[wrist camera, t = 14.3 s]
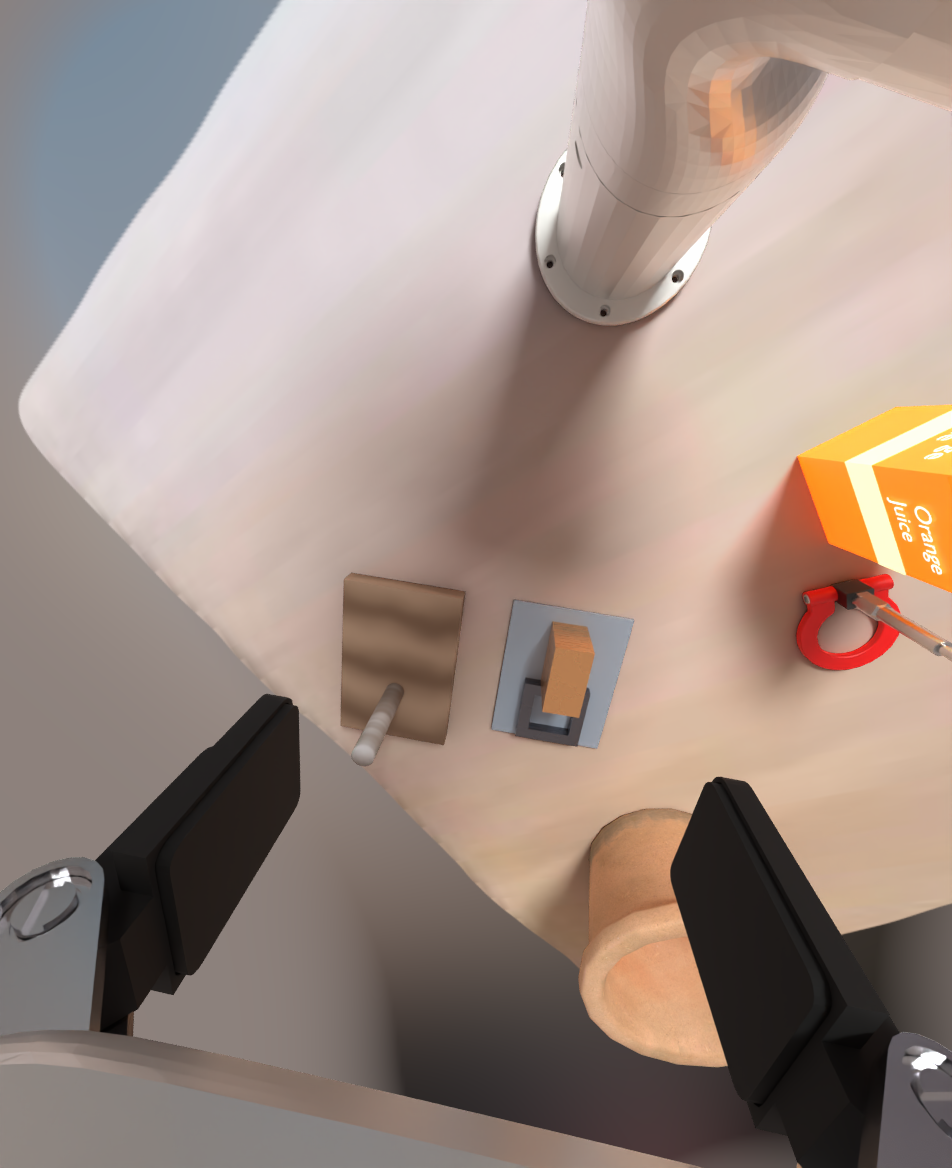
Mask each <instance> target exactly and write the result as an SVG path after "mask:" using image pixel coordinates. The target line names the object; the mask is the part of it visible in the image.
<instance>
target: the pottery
mask: <svg viewBox="0 0 952 1168" xmlns="http://www.w3.org/2000/svg"><path fill="white" fill-rule="evenodd" d="M691 816H692V814H690V813H686V812H682V811H678V810H674V809H644V810H640V811H637V812H633V813H630V814H626V815H623V816H621V817H619V818H618V819H616V820H615V821H613V822H611V823H610V824H608V825H607V826H605V827H604V828H603V829H602V830H601V831H600V833H599V834H598V836H597V837H596V838H595V840H594V841H593V842H592V846H591V851H590V857H589V863H590V879H589V945H588V946H587V947H586V948H585V950H584V951H583V956H582V961H581V966H580V972H579V977H578V978H579V989H580V993H581V996H582V998H583V1001H584V1004H585V1006H586V1009H587V1012H588V1014H589V1016H590V1018H591V1019H592V1020H593V1021H594V1022H595V1023H596V1024H597V1025H598V1026H599V1027H600V1028H601V1029H602V1030H603V1031H604V1032H605V1033H606V1034H607V1035H608V1036H609V1037H610V1038H611V1039H613V1040H615V1041H617V1042H618V1043H620V1044H622V1045H624V1046H626V1047H628V1048H630V1049H632V1050H634V1051H635V1052H637V1053H639V1054H642V1055H645V1056H649V1057H653V1058H656V1059H660V1060H664V1061H667V1062H671V1063H675V1064H682V1065H695V1066H710V1067H721V1066H728V1065H727V1062H726V1059H725V1056H724V1052H723V1049H722V1046H721V1043H720V1039H719V1036H718V1033H717V1030H716V1026H715V1023H714V1020H713V1017H712V1014H711V1010H710V1007H709V1004H708V1001H707V997H706V994H705V991H704V988H703V984H702V981H701V978H700V975H699V972H698V968H697V965H696V962H695V959H694V955H693V952H692V949H691V946H690V942H689V939H688V936H687V933H686V929H685V926H684V923H683V920H682V917H681V913H680V910H679V907H678V904H677V900H676V897H675V894H674V891H673V887H672V884H671V878H670V869H671V864H672V862H673V859H674V857H675V855H676V852H677V850H678V847H679V845H680V843H681V840H682V838H683V835H684V833H685V831H686V828H687V826H688V823H689V821H690V819H691Z"/></svg>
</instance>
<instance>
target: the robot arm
mask: <svg viewBox="0 0 952 1168" xmlns="http://www.w3.org/2000/svg"><path fill="white" fill-rule="evenodd" d="M829 73H830V74H833V75H836V76H839V77H841V78H844V79H847V80H856V79H860V80H862V81H865V82H868V83H871V84H874V85H877V86H880V87H882V88H885V89H888V90H891V91H894V92H897V93H900V94H902V95H905V96H908V97H911V98H914V99H917V100H920V101H922V102H925V103H928V104H931V105H934V106H937V107H940V108H942V109H945V110H948V111H951V112H952V0H587V8H586V17H585V25H584V34H583V41H582V48H581V55H580V63H579V69H578V76H577V83H576V90H575V97H574V104H573V111H572V118H571V126H570V133H569V140H568V147H567V149H566V150H565V152H564V153H563V154H562V155H561V156H560V158H559V159H558V161H557V163H556V164H555V166H554V168H553V169H552V171H551V173H550V175H549V176H548V179H547V182H546V184H545V187H544V189H543V192H542V194H541V198H540V202H539V207H538V211H537V216H536V228H535V246H536V254H537V260H538V265H539V269H540V271H541V274H542V277H543V280H544V282H545V284H546V286H547V288H548V289H549V291H550V293H551V294H552V296H553V297H554V298H555V300H556V301H557V302H558V303H559V304H560V305H561V306H562V307H563V308H564V309H565V310H567V311H568V312H569V313H571V314H572V315H574V316H575V317H577V318H579V319H581V320H584V321H586V322H588V323H592V324H598V325H604V326H609V325H622V324H626V323H630V322H634V321H637V320H639V319H641V318H644V317H646V316H648V315H650V314H652V313H653V312H655V311H656V310H657V309H659V308H660V307H662V306H663V305H665V304H666V303H667V302H668V301H669V300H670V299H671V298H672V297H674V296H675V295H676V294H677V293H678V292H679V290H680V289H681V288H682V287H683V286H684V285H685V284H686V282H687V281H688V280H689V278H690V277H691V275H692V273H693V272H694V270H695V269H696V267H697V265H698V264H699V262H700V259H701V257H702V255H703V253H704V250H705V248H706V246H707V243H708V239H709V235H710V231H711V228H712V225H713V224H714V223H715V222H716V220H717V219H718V218H719V217H720V216H721V215H722V214H723V213H724V212H725V211H726V210H727V209H728V208H729V207H730V205H731V204H732V203H733V202H734V201H735V200H736V199H737V198H738V197H739V196H740V195H741V194H742V193H743V192H744V190H745V189H746V188H747V187H748V186H749V185H750V184H751V183H752V182H753V181H754V180H755V179H756V177H757V176H758V175H759V174H760V173H761V172H762V170H763V169H764V168H765V167H766V166H767V165H768V164H769V163H770V162H771V161H772V160H773V159H774V157H775V156H776V155H777V154H778V153H779V152H780V151H781V150H782V148H783V147H784V146H785V145H786V143H787V142H788V141H789V140H790V138H791V137H792V136H793V134H794V133H795V132H796V130H797V129H798V127H799V126H800V124H801V123H802V122H803V120H804V119H805V117H806V115H807V114H808V112H809V110H810V109H811V107H812V105H813V103H814V102H815V100H816V98H817V96H818V94H819V92H820V90H821V89H822V87H823V85H824V83H825V81H826V78H827V76H828V74H829ZM562 173H564V175H563V177H561V174H562ZM548 262H552V263H553V267H552V268H548V267H547V263H548ZM674 276H675V277H676V278H677V282H676V283H673V281H672V277H674ZM602 310H604V311H606V316H605V317H602V316H601V315H600V312H601V311H602ZM299 797H300V752H299V710H298V707H297V706H294V705H293V703H292V700H291V699H290V698H287V697H281V696H276V695H270V694H265V695H263V696H262V697H261V698H260V699H259V700H258V701H257V702H256V703H255V704H254V705H253V706H252V707H251V708H250V709H249V710H248V711H247V712H246V713H245V714H244V715H243V716H242V717H241V718H240V719H239V720H238V721H237V722H236V723H235V724H234V725H233V726H232V727H231V728H230V729H229V730H228V731H227V732H226V734H225V735H224V736H223V737H222V738H221V739H220V740H219V741H218V742H217V743H216V744H215V745H214V746H212V747H209V748H207V749H206V750H205V751H203V752H202V753H201V754H200V755H199V756H198V757H197V758H196V759H195V760H194V761H193V762H192V763H191V764H190V765H189V766H188V767H187V768H186V769H185V770H184V771H183V772H182V773H181V774H180V775H179V776H178V777H177V778H176V779H175V780H174V781H173V782H172V783H171V784H170V785H169V786H168V787H167V788H166V789H165V790H164V791H163V792H162V793H161V794H160V795H159V796H158V797H157V798H156V799H155V800H154V801H153V802H152V804H150V805H149V806H148V807H147V809H146V810H145V811H144V812H143V813H142V814H141V815H140V816H139V817H138V818H137V819H136V820H135V821H134V822H133V823H132V824H131V825H130V826H129V827H128V828H127V829H126V830H125V831H124V832H123V833H122V834H121V835H120V836H119V837H118V838H117V839H116V840H115V841H114V842H113V843H112V844H111V845H110V846H109V847H108V848H107V849H106V850H105V851H104V852H103V853H102V854H101V855H100V856H99V857H98V858H97V859H96V860H95V861H94V860H91V859H88V858H85V857H75V858H66V859H62V860H57V861H53V862H50V863H48V864H45V865H43V866H41V867H38V868H36V869H34V870H32V871H30V872H28V873H27V874H25V875H23V876H22V877H20V878H18V879H17V880H15V881H13V882H12V883H11V884H10V885H9V886H7V887H6V888H5V889H4V890H2V891H1V892H0V1168H702V1167H698V1166H694V1165H690V1164H685V1163H681V1162H677V1161H673V1160H669V1159H665V1158H660V1157H656V1156H652V1155H648V1154H644V1153H640V1152H636V1151H632V1150H627V1149H624V1148H620V1147H615V1146H611V1145H607V1144H603V1143H599V1142H594V1141H590V1140H587V1139H582V1138H578V1137H573V1136H570V1135H566V1134H562V1133H557V1132H553V1131H549V1130H545V1129H541V1128H536V1127H532V1126H528V1125H524V1124H519V1123H515V1122H511V1121H507V1120H503V1119H498V1118H494V1117H489V1116H486V1115H481V1114H477V1113H473V1112H469V1111H464V1110H460V1109H456V1108H451V1107H447V1106H443V1105H438V1104H435V1103H430V1102H426V1101H422V1100H418V1099H413V1098H409V1097H405V1096H401V1095H396V1094H392V1093H388V1092H384V1091H379V1090H375V1089H371V1088H366V1087H362V1086H358V1085H353V1084H349V1083H345V1082H340V1081H335V1080H331V1079H327V1078H323V1077H318V1076H314V1075H310V1074H305V1073H301V1072H296V1071H292V1070H288V1069H283V1068H279V1067H275V1066H270V1065H266V1064H262V1063H257V1062H253V1061H248V1060H244V1059H240V1058H235V1057H231V1056H226V1055H222V1054H216V1053H211V1052H207V1051H202V1050H197V1049H192V1048H187V1047H182V1046H177V1045H173V1044H167V1043H163V1042H158V1041H153V1040H148V1039H143V1038H138V1037H133V1028H134V1027H133V1026H134V1011H135V1010H137V1009H138V1008H139V1007H140V1005H141V1004H142V1002H143V1001H144V999H145V998H146V996H147V995H148V993H149V992H150V990H154V991H158V992H162V993H167V994H171V995H174V993H175V991H176V990H177V988H178V987H179V985H180V983H181V982H182V980H183V979H184V977H185V975H193V974H194V973H195V972H196V970H198V969H199V967H200V966H201V964H202V963H203V961H204V959H205V958H206V956H207V954H208V953H209V951H210V949H211V948H212V946H213V944H214V943H215V941H216V939H217V938H218V936H219V934H220V933H221V931H222V929H223V928H224V926H225V925H226V923H227V921H228V920H229V918H230V916H231V914H232V913H233V911H234V910H235V908H236V906H237V905H238V903H239V901H240V900H241V898H242V896H243V894H244V893H245V891H246V890H247V888H248V886H249V885H250V883H251V881H252V880H253V878H254V876H255V875H256V873H257V871H258V870H259V868H260V867H261V865H262V863H263V862H264V860H265V858H266V857H267V855H268V853H269V852H270V850H271V848H272V847H273V845H274V843H275V842H276V840H277V838H278V836H279V835H280V833H281V832H282V830H283V828H284V827H285V825H286V823H287V822H288V820H289V818H290V817H291V815H292V813H293V812H294V810H295V808H296V806H297V804H298V801H299ZM670 878H671V884H672V887H673V891H674V894H675V897H676V900H677V904H678V907H679V910H680V913H681V917H682V920H683V923H684V926H685V929H686V933H687V936H688V939H689V942H690V946H691V949H692V952H693V955H694V959H695V962H696V965H697V968H698V972H699V975H700V978H701V981H702V984H703V988H704V991H705V994H706V997H707V1001H708V1004H709V1007H710V1010H711V1014H712V1017H713V1020H714V1023H715V1026H716V1030H717V1033H718V1036H719V1039H720V1043H721V1046H722V1049H723V1052H724V1056H725V1059H726V1062H727V1065H728V1068H729V1072H730V1075H731V1078H732V1081H733V1084H734V1087H735V1089H736V1091H737V1093H738V1095H739V1096H740V1098H741V1099H742V1100H745V1101H747V1103H748V1107H749V1110H750V1113H751V1116H752V1119H753V1122H754V1125H755V1128H756V1129H760V1130H765V1131H769V1132H774V1133H778V1134H782V1135H787V1136H788V1138H789V1141H790V1144H791V1146H792V1149H793V1152H794V1155H795V1157H796V1160H797V1162H798V1164H797V1168H952V1052H950V1051H949V1050H948V1049H946V1048H945V1047H943V1046H942V1045H940V1044H938V1043H937V1042H935V1041H933V1040H931V1039H928V1038H926V1037H923V1036H921V1035H919V1034H915V1033H905V1032H902V1033H899V1031H898V1030H897V1028H896V1026H895V1025H894V1023H893V1021H892V1020H891V1018H890V1017H889V1013H888V1011H887V1009H886V1008H885V1006H884V1004H883V1003H882V1001H881V1000H880V998H879V996H878V995H877V993H876V991H875V990H874V988H873V987H872V985H871V983H870V982H869V980H868V978H867V977H866V975H865V973H864V972H863V970H862V968H861V967H860V965H859V963H858V962H857V960H856V959H855V957H854V955H853V954H852V952H851V950H850V949H849V947H848V945H847V944H846V942H845V940H844V939H843V937H842V936H841V934H840V932H839V931H838V929H837V927H836V926H835V924H834V922H833V921H832V919H831V918H830V916H829V914H828V913H827V911H826V909H825V908H824V906H823V904H822V903H821V901H820V899H819V898H818V896H817V895H816V893H815V891H814V890H813V888H812V886H811V885H810V883H809V881H808V880H807V878H806V876H805V875H804V873H803V872H802V870H801V868H800V867H799V865H798V863H797V862H796V860H795V858H794V857H793V855H792V854H791V852H790V850H789V849H788V847H787V845H786V844H785V842H784V840H783V839H782V837H781V835H780V834H779V832H778V831H777V829H776V827H775V826H774V824H773V822H772V821H771V819H770V817H769V816H768V814H767V813H766V811H765V809H764V808H763V806H762V804H761V803H760V801H759V799H758V798H757V796H756V794H755V793H754V791H753V790H752V788H751V787H750V785H749V784H748V783H746V782H745V781H740V780H734V779H729V778H723V777H716V778H715V779H714V780H713V781H712V782H707V783H706V784H705V785H704V787H703V790H702V792H701V795H700V797H699V799H698V802H697V804H696V807H695V809H694V811H693V814H692V816H691V819H690V821H689V823H688V826H687V828H686V831H685V833H684V835H683V838H682V840H681V843H680V845H679V847H678V850H677V852H676V855H675V857H674V859H673V862H672V864H671V869H670Z"/></svg>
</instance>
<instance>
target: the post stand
mask: <svg viewBox="0 0 952 1168" xmlns="http://www.w3.org/2000/svg"><path fill="white" fill-rule="evenodd" d="M464 599H465V591H459V590H453V589H447V588H440V587H434V586H428V585H422V584H416V583H410V582H404V581H398V580H392V579H386V578H380V577H373V576H367V575H361V574H355V573H351V574H350V575H348V576H347V577H346V578H345V579H344V596H343V641H342V687H341V726H344V727H350V728H355V729H360V730H364V731H363V733H362V734H361V736H360V738H359V740H358V742H357V744H356V746H355V747H354V749H353V751H352V754H351V757H352V759H353V761H354V762H355V763H356V764H358V765H360V766H369V765H371V764H372V762H373V760H374V758H375V756H376V754H377V752H378V750H379V747H380V745H381V743H382V741H383V739H384V736H385V734H387V735H393V736H398V737H403V738H409V739H414V740H419V741H425V742H430V743H436V744H441V745H444V742H445V739H446V735H447V729H448V721H449V713H450V706H451V698H452V691H453V683H454V675H455V668H456V660H457V652H458V645H459V637H460V630H461V622H462V614H463V607H464Z"/></svg>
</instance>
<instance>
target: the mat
mask: <svg viewBox="0 0 952 1168" xmlns="http://www.w3.org/2000/svg"><path fill="white" fill-rule="evenodd" d="M552 621H554V622H561V623H567V624H573V625H580V626H586V627H587V628H588V631H589V635H590V638H591V641H592V645H593V648H594V652H595V656H594V660H593V664H592V668H591V672H590V676H589V680H588V684H587V688H589V690H590V694H591V695H590V699H589V702H588V706H587V710H586V714H585V718H584V722H583V726H582V730H581V734H580V738H579V742H578V745H580V746H585V747H591V748H596V749H597V748H598V744H599V741H600V737H601V734H602V730H603V727H604V724H605V720H606V717H607V713H608V710H609V706H610V703H611V699H612V696H613V693H614V689H615V686H616V682H617V679H618V675H619V672H620V668H621V665H622V661H623V658H624V655H625V651H626V648H627V644H628V641H629V637H630V634H631V630H632V627H633V623H634V619H629V618H623V617H617V616H611V615H605V614H599V613H593V612H587V611H581V610H575V609H568V608H562V607H556V606H550V605H544V604H538V603H532V602H526V601H520V600H514V603H513V608H512V614H511V620H510V625H509V631H508V637H507V643H506V648H505V654H504V660H503V665H502V671H501V677H500V682H499V688H498V694H497V699H496V705H495V711H494V717H493V722H492V728H491V729H492V730H497V731H503V732H508V733H514V734H516V725H517V719H518V714H519V709H520V703H521V698H522V692H523V687H524V682H525V677H526V678H532V679H538V680H541V676H542V671H543V666H544V661H545V656H546V651H547V646H548V641H549V636H550V631H551V626H552ZM569 720H570V716H564V715H558V714H552V713H546V712H542V698H541V696H537V695H535V696H534V701H533V706H532V711H531V716H530V722H532V723H538V724H543V725H549V726H555V727H561V728H567V729H568V724H569Z"/></svg>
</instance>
